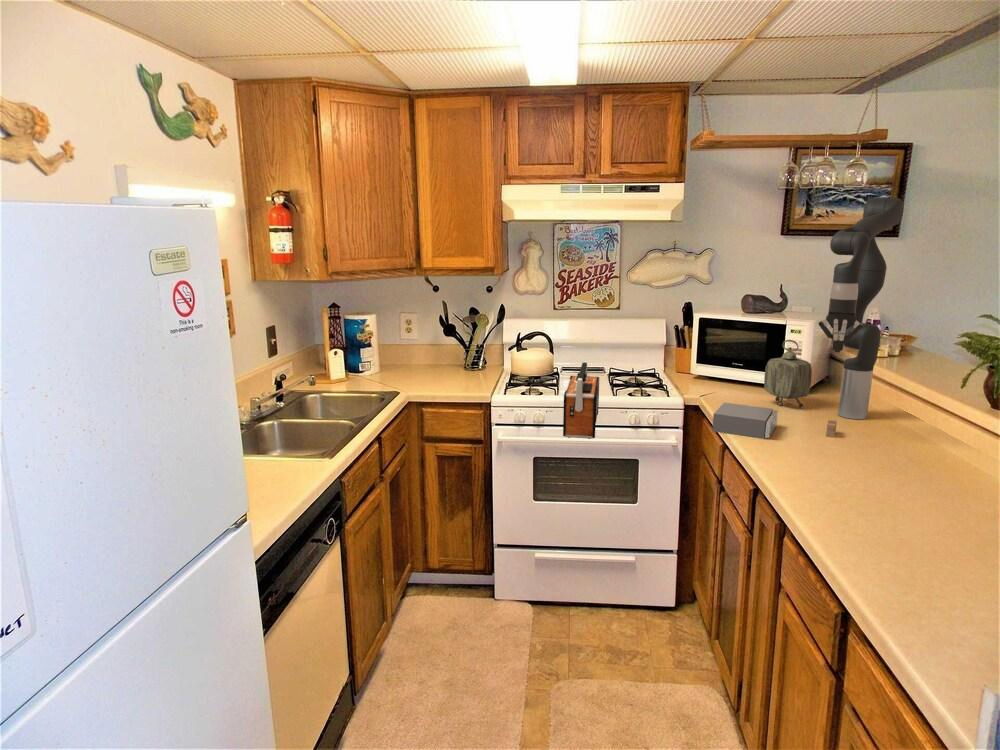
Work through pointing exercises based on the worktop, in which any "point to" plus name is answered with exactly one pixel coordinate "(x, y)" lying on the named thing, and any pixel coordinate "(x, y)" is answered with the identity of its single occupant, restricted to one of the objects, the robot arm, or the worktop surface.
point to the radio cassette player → (581, 405)
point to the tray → (771, 424)
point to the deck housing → (741, 420)
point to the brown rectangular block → (831, 428)
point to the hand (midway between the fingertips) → (837, 351)
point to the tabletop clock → (788, 376)
